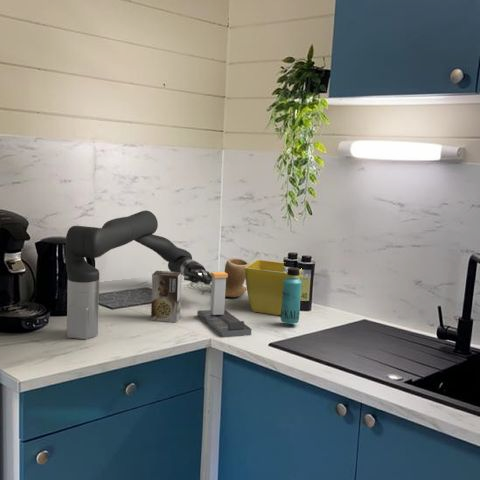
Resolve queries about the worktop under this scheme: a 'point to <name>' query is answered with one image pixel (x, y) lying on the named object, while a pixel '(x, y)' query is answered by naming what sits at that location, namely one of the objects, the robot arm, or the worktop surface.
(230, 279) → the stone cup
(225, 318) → the console
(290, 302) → the beverage bottle
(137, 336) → the worktop surface
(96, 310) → the robot arm
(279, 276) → the flower pot
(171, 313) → the coffee box
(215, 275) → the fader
